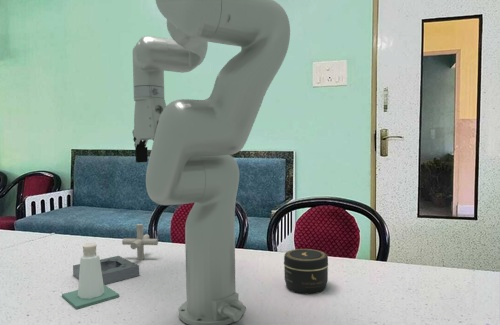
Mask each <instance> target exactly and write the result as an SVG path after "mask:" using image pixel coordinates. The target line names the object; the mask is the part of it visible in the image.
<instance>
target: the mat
mask: <svg viewBox="0 0 500 325" xmlns="http://www.w3.org/2000/svg"><path fill="white" fill-rule="evenodd" d="M103 285H104V284H103ZM61 298H63V299H64V300H65V301H66V302H68V304H70V305H71V306H72V307H73V308H74V309H76V310H79V309H83V308H87V307H89V306H92V305H96V304H101V303H103V302H107V301H110V300H114V299H116V298H120V293H118V292H116V291H115V290H114V289H112V288H111V287H109V286H108V285H107V284H106V285H104V293H103V294H102V295H101V296H100V297H96V298H92V299H81V298H80V297H79V296H78V289H77V290H73V291H68V292H64V293H61Z"/></svg>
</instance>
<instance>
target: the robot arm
mask: <svg viewBox="0 0 500 325" xmlns="http://www.w3.org/2000/svg"><path fill="white" fill-rule="evenodd" d="M155 4H156V6H157V9H158V11H159V12H160V13H161V15H162V16H163V18H165V19H166V27H167V32H168V33H169V36H170V37H171V38H168V37H160V36H159V37H158V36H152V35H144V36H141V37H140V38H139V40H138V41H137V43H135V45H134V46H133V48H132V73H133V74H132V77H133V79H132V81H133V82H132V83H133V101H134V102H135V103H134V116H133V125H134V126H133V130H132V136H133V139H132V140H133V142H134V151H135V155H134V156H135V163H147V167H146V172H145V173H146V174H145V188H146V189H145V190H146V193H147V194H148V198H150V200H151V201H152V202H154V203H155V204H156V205H160V206H174V205H175V206H177V205H185V204H193V206H192V208H191V209H190V211H189V213H188V215H187V218H186V221H185V227H184V233H185V234H184V235H185V237H184V238H185V240H184V242H185V243H184V244H185V248H184V249H185V250H184V251H185V282H186V284H185V287H186V301H185V302H183V303H182V304H181V305H180V306H179V307H178V317H179V319H180V320H181V321H182V322H183V323H185V324H187V325H230V324H232V323H234V322H239V321H240V320H241V318H242V316H243V315H244V314H245V313H246V312H247V307H246V305H244V304H243V302H241V300H239V293H238V292H236V242H235V241H236V232H235V230H236V229H235V228H236V227H235V226H236V225H235V224H236V222H235V221H236V219H235V217H236V205H237V204H236V203H237V202H236V200H237V194H238V191H239V190H238V189H239V183H240V168H239V164H238V162H237V161H236V159H235V158H234V157H233V156H232V155H234V154H237V153H239V152H240V151H241V150H243V148H244V147H245V145H246V143H247V141H248V138H249V136H250V134H251V131H252V129H253V127H254V123H255V121H256V119H257V117H258V114H259V111H260V108H261V107H262V103H263V100H264V98H265V95H266V94H267V91H268V89H269V87H270V85H271V84H272V82H273V80H274V79H275V77H276V75H277V74H278V72H279V70H280V68H281V66H282V65H283V62H284V60H285V59H286V56H287V53H288V50H289V47H290V46H289V45H290V39H291V26H290V25H291V23H290V20H289V16H288V15H287V11H285V9H284V7H283V6H282V5H281V4H279V2H277V1H275V0H155ZM208 43H214V44H220V45H221V44H222V45H227V46H235V47H241V50H240V51H239V52H238V53H237V54H236V55H234V56H232V58H230V59H229V60H228V61H227V62H226V63H225V65H224V66H223V67H222V68H221V69H220V71H219V72H218V74H217V76H216V78H215V81H214V85H213V88H212V90H211V91H212V92H211V93H210V95H209V97H208V98H206V99H189V98H188V99H187V98H185V99H182V98H181V99H176V100H173V101H170V102H169V103H168V104H167V103H166V100H165V72H174V73H188V72H191V71H193V70H194V69H196V68H197V67H198V66H200V65H201V64H202V63H203V62H204V60H205V58H206V55H207V52H208V48H209V47H208V45H209V44H208ZM149 140H152V141H153V143H152V145H151V146H152V147H151V150H150V154H148V153H149V152H148V146H147V143H148V142H149ZM148 156H149V158H148Z"/></svg>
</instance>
